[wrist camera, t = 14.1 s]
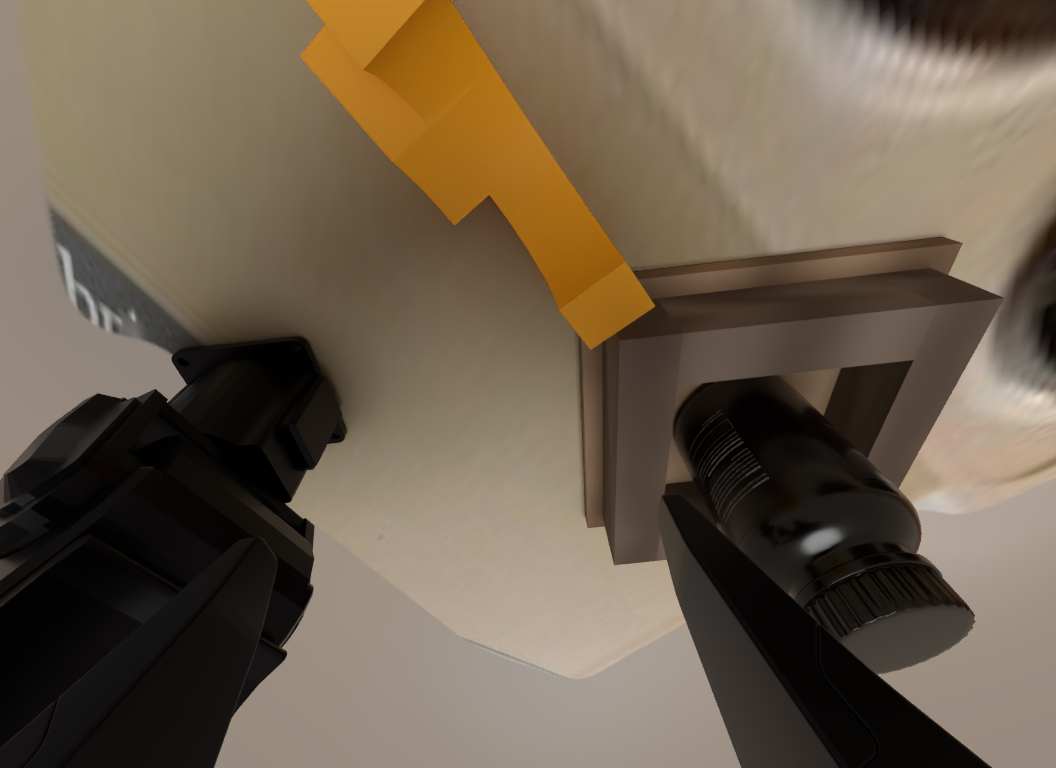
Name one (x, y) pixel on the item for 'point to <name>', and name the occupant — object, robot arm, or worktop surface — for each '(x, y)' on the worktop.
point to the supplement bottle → (819, 521)
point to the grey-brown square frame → (774, 364)
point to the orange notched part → (470, 145)
